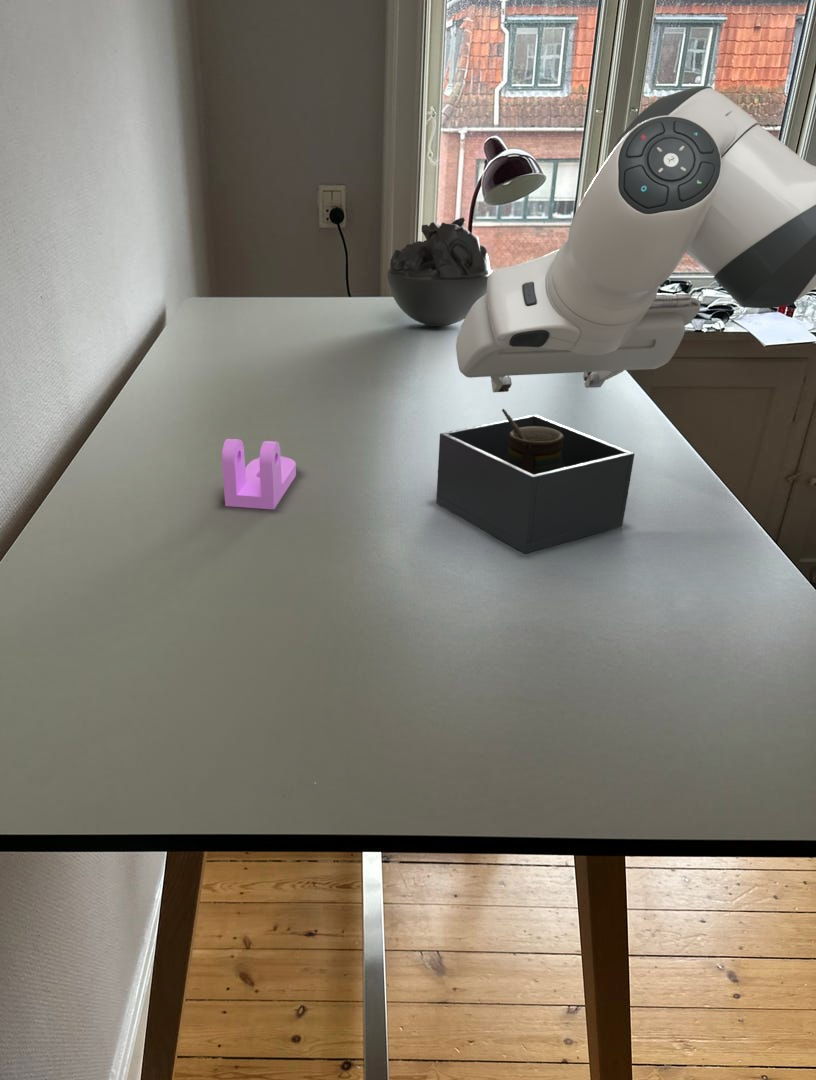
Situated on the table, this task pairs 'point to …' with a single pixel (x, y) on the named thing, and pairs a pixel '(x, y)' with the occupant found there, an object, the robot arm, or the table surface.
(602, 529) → the waste bin
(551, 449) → the mate gourd
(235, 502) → the bracket
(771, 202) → the robot arm
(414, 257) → the grey filled bowl
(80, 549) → the table surface
